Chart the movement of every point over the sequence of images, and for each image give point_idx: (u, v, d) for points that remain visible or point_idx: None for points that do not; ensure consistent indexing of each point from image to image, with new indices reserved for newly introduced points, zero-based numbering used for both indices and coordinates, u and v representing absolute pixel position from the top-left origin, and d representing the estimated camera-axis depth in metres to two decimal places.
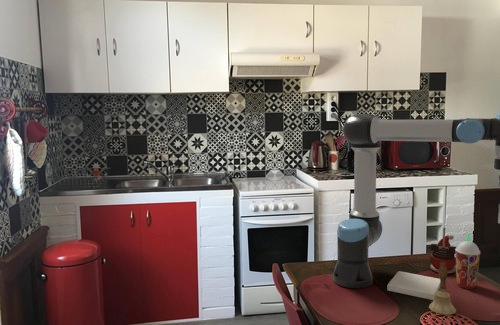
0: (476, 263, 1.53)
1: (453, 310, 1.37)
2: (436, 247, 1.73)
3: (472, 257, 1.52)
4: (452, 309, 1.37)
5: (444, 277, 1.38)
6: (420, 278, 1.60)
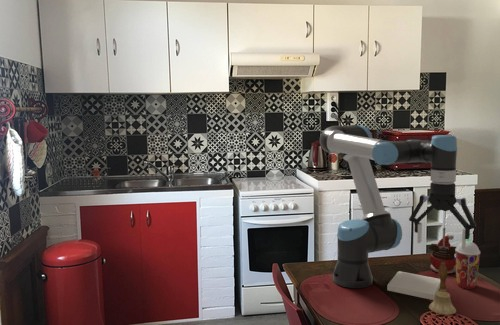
0: (476, 263, 1.53)
1: (453, 310, 1.37)
2: (436, 247, 1.73)
3: (472, 257, 1.52)
4: (452, 309, 1.37)
5: (444, 277, 1.38)
6: (420, 278, 1.60)
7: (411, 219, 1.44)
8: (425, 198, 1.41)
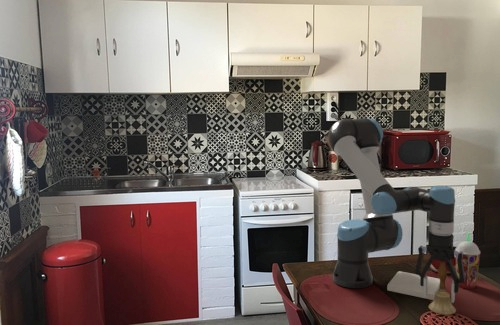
0: (476, 263, 1.53)
1: (453, 310, 1.37)
2: None
3: (472, 257, 1.52)
4: (452, 309, 1.37)
5: (443, 277, 1.38)
6: None
7: (417, 272, 1.45)
8: (424, 249, 1.43)
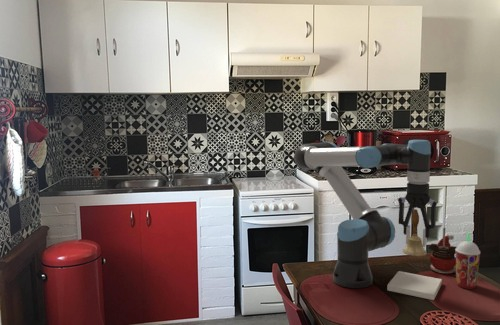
0: (476, 263, 1.53)
1: (424, 252, 1.51)
2: (436, 247, 1.73)
3: (472, 257, 1.52)
4: (423, 251, 1.51)
5: (416, 222, 1.51)
6: (420, 278, 1.60)
7: (400, 222, 1.57)
8: (403, 199, 1.56)
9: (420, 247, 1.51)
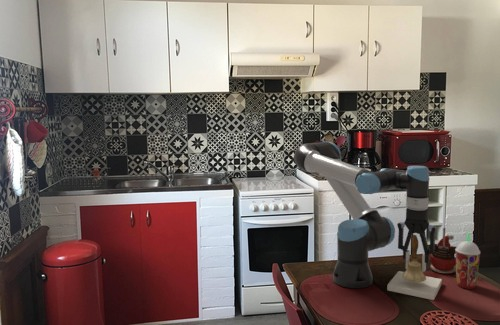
0: (476, 263, 1.53)
1: (423, 278, 1.52)
2: (436, 247, 1.73)
3: (472, 257, 1.52)
4: (422, 277, 1.52)
5: (415, 248, 1.52)
6: None
7: (400, 247, 1.58)
8: (402, 224, 1.57)
9: (420, 272, 1.52)
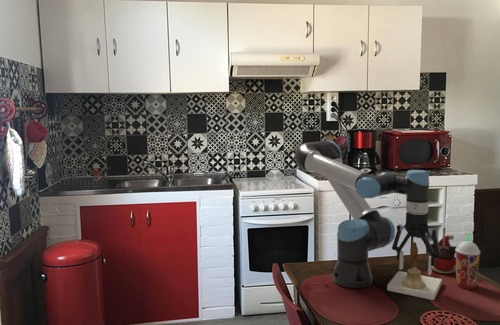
0: (476, 263, 1.53)
1: (423, 285, 1.52)
2: None
3: (472, 257, 1.52)
4: (422, 284, 1.52)
5: (414, 255, 1.53)
6: None
7: (394, 248, 1.59)
8: (401, 227, 1.57)
9: (419, 280, 1.53)
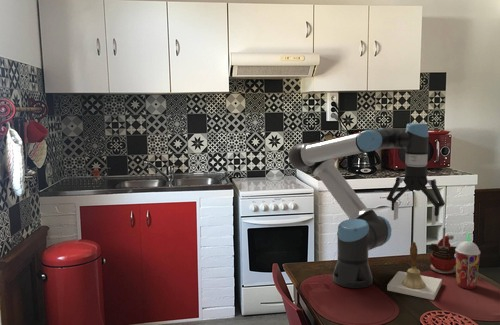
0: (476, 263, 1.53)
1: (423, 285, 1.52)
2: (436, 247, 1.73)
3: (472, 257, 1.52)
4: (422, 284, 1.52)
5: (414, 255, 1.53)
6: None
7: (388, 198, 1.61)
8: (401, 179, 1.58)
9: (419, 280, 1.53)
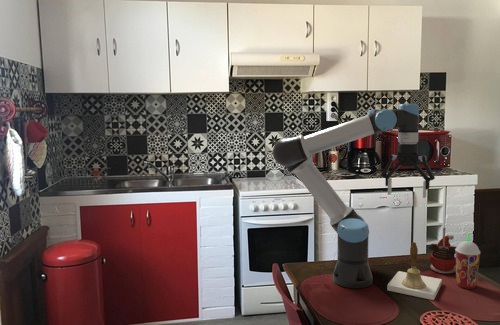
0: (476, 263, 1.53)
1: (423, 285, 1.52)
2: (436, 247, 1.73)
3: (472, 257, 1.52)
4: (422, 284, 1.52)
5: (414, 255, 1.53)
6: None
7: (382, 175, 1.72)
8: (394, 157, 1.70)
9: (419, 280, 1.53)
